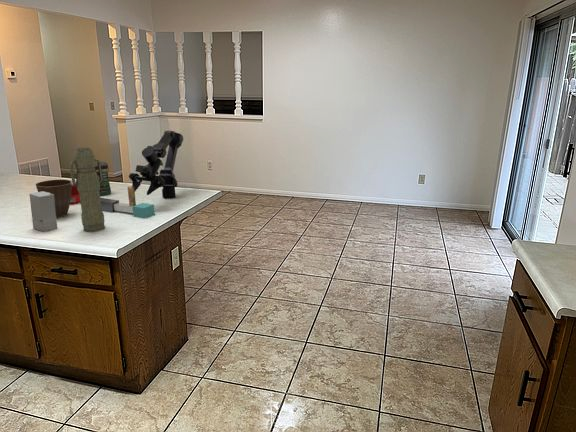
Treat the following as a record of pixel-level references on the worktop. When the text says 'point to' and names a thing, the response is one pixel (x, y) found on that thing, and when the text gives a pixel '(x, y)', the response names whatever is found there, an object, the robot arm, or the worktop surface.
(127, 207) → the bronze post on bar
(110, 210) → the grey rectangular metal block
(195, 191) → the worktop surface
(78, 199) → the canned food
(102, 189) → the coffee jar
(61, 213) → the plant pot
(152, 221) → the worktop surface
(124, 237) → the worktop surface
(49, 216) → the skincare box
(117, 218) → the worktop surface
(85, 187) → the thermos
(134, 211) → the socket
